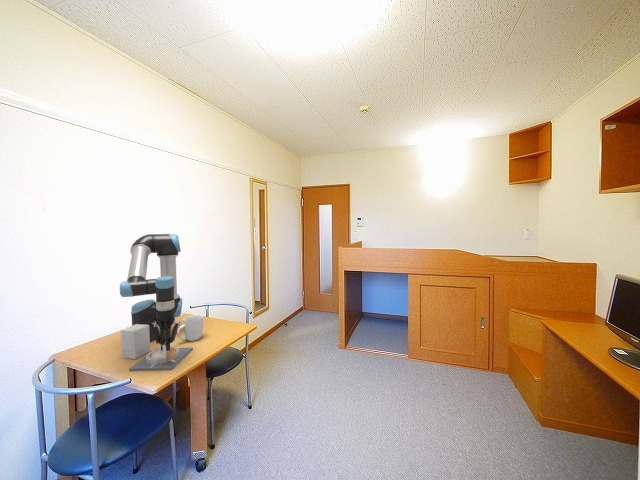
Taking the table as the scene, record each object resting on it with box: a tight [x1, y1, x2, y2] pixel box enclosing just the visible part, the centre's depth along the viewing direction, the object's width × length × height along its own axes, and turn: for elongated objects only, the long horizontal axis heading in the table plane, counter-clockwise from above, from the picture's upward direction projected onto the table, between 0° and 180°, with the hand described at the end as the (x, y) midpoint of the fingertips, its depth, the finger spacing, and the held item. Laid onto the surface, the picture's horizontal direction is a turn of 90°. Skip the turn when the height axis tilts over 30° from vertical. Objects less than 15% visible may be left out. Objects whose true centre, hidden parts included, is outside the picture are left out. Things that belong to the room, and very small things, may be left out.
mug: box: [176, 314, 204, 342], centre depth 147 cm, size 15×11×13 cm
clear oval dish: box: [151, 348, 175, 359], centre depth 123 cm, size 16×10×6 cm, turn 55°
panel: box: [128, 345, 194, 372], centre depth 125 cm, size 20×20×4 cm
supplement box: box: [120, 324, 151, 360], centre depth 130 cm, size 9×9×15 cm
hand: (165, 356), depth 118 cm, fingers closed
